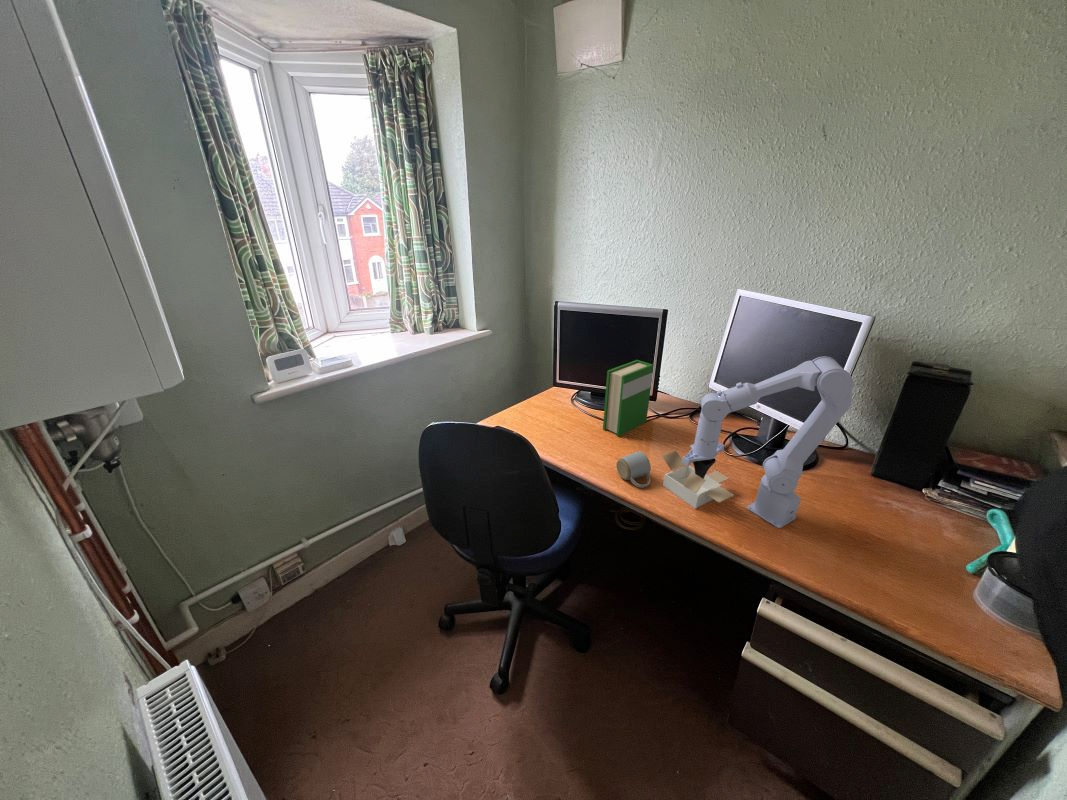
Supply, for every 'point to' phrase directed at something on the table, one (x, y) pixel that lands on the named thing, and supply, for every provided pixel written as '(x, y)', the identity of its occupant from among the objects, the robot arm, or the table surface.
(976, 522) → the table surface
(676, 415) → the table surface
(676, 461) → the far flap
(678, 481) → the carton
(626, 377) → the hardback book
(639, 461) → the ceramic mug
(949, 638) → the table surface
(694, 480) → the left flap
